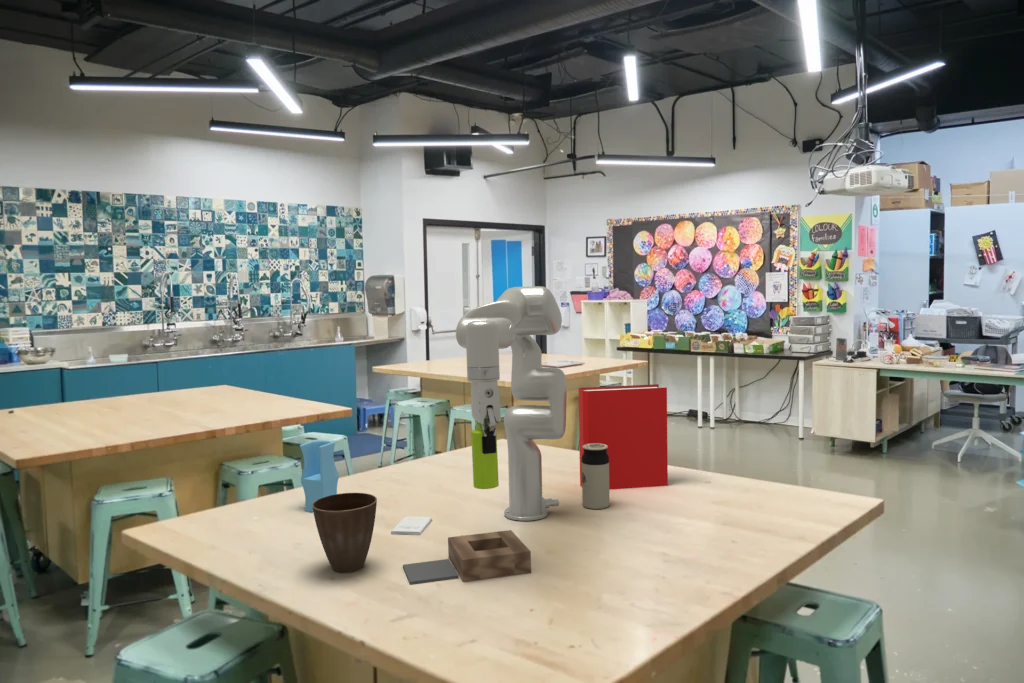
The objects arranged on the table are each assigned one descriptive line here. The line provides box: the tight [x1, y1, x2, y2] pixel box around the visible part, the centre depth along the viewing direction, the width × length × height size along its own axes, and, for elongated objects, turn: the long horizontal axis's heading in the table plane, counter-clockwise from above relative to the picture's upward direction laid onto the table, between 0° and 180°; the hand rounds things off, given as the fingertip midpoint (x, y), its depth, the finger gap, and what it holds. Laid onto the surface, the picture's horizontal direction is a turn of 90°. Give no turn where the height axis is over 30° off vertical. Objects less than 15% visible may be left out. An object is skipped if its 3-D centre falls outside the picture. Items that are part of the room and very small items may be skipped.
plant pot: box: [312, 492, 378, 574], centre depth 180 cm, size 15×15×16 cm
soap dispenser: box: [470, 421, 500, 490], centre depth 178 cm, size 6×7×20 cm
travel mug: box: [581, 443, 611, 510], centre depth 224 cm, size 8×8×18 cm
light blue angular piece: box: [299, 439, 340, 513], centre depth 228 cm, size 8×8×20 cm
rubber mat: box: [402, 558, 459, 585], centre depth 176 cm, size 11×11×1 cm
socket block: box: [447, 529, 532, 582], centre depth 179 cm, size 16×16×5 cm
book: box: [578, 383, 669, 491], centre depth 246 cm, size 27×8×32 cm, turn 98°
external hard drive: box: [390, 516, 433, 536], centre depth 209 cm, size 2×8×12 cm
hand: (485, 449), depth 178 cm, fingers closed on soap dispenser, 5 cm apart
